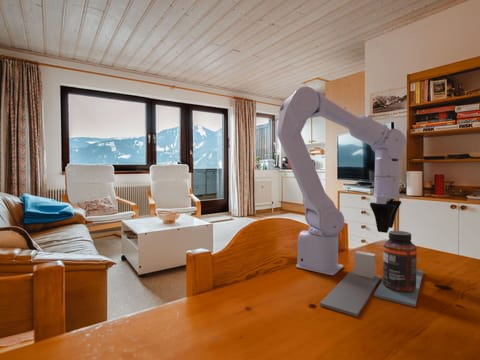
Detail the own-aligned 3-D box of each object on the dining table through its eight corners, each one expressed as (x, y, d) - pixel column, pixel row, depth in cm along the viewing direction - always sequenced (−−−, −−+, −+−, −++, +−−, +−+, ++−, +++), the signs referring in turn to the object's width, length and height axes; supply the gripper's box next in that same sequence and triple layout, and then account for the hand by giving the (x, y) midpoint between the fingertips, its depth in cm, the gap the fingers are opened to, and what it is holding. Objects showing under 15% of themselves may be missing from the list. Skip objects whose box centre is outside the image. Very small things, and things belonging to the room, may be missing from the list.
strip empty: (319, 305, 50) (320, 275, 49) (351, 272, 67) (352, 249, 66) (357, 317, 46) (358, 284, 46) (381, 278, 63) (381, 254, 63)
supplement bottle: (413, 284, 58) (415, 231, 58) (418, 295, 53) (420, 237, 53) (381, 279, 61) (383, 228, 60) (383, 289, 55) (384, 233, 55)
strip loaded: (373, 296, 54) (374, 268, 53) (391, 267, 70) (391, 245, 70) (415, 307, 49) (416, 276, 49) (423, 273, 66) (423, 250, 66)
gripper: (401, 177, 63) (399, 237, 63) (408, 177, 74) (406, 227, 75) (367, 176, 67) (366, 232, 67) (379, 176, 79) (377, 224, 79)
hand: (385, 229), depth 71 cm, fingers open, 7 cm apart
